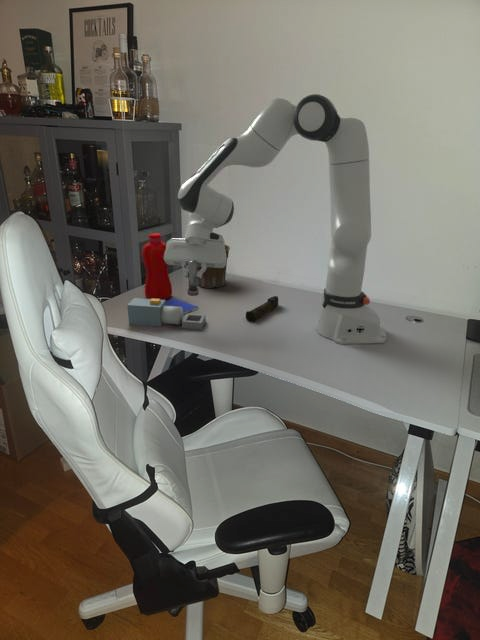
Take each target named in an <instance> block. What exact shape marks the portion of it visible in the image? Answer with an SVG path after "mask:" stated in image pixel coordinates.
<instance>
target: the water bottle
mask: <svg viewBox="0 0 480 640" xmlns="http://www.w3.org/2000/svg"><path fill="white" fill-rule="evenodd" d="M166 244H167V243H165V242H163V241H162V234H161V233H158V232H154V233H151V234H148V242H147V243H145V245H144V246H143V247H142V251H141V257H142V263H143V266H144V267H145V269H146V275H145V276H146V277H145V285H144V295H145V299H152V298H153V299H160V300H165V301H166V299H169V298H171V297H172V295H173V289H172V282H171V279H170V276H169V273H168V272H169V270H168V269H169V265H168V264H167V263H166V262H165V260H164V254H165V250H166Z"/></svg>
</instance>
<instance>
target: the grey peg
mask: <svg viewBox="0 0 480 640" xmlns="http://www.w3.org/2000/svg"><path fill="white" fill-rule="evenodd" d="M187 269H188V270H187V271H188V277H187V278H188V288H187V295H188V296H190V297H192V296H193V297H196V296H198V295H199V294H200V293H199V292H200V290H199V288H198V284H197V277H196V274H197V261H196V260H189V261H188V266H187Z"/></svg>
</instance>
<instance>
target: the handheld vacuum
mask: <svg viewBox="0 0 480 640" xmlns="http://www.w3.org/2000/svg"><path fill="white" fill-rule="evenodd" d="M166 301H167V300H166V299H165V300H160V299H153V298H152V299H148V298H139V297H137V298H136V297H133V299H132V300H130V302H128V303H127V306H126V307H127V314H128V324H129V325H133V326H148V327H149V326H150V327H162V326H163V324H164V325H165V324H166V325H176V326H177V325H179V326H181V329H184V330H186V329H188V330H200V331H201V330H203V328H204V326H205V323H206V320H207V319H206V314H198V313H186V314H183V309H182V307H176V306H166ZM184 315H185V316H184Z"/></svg>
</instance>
